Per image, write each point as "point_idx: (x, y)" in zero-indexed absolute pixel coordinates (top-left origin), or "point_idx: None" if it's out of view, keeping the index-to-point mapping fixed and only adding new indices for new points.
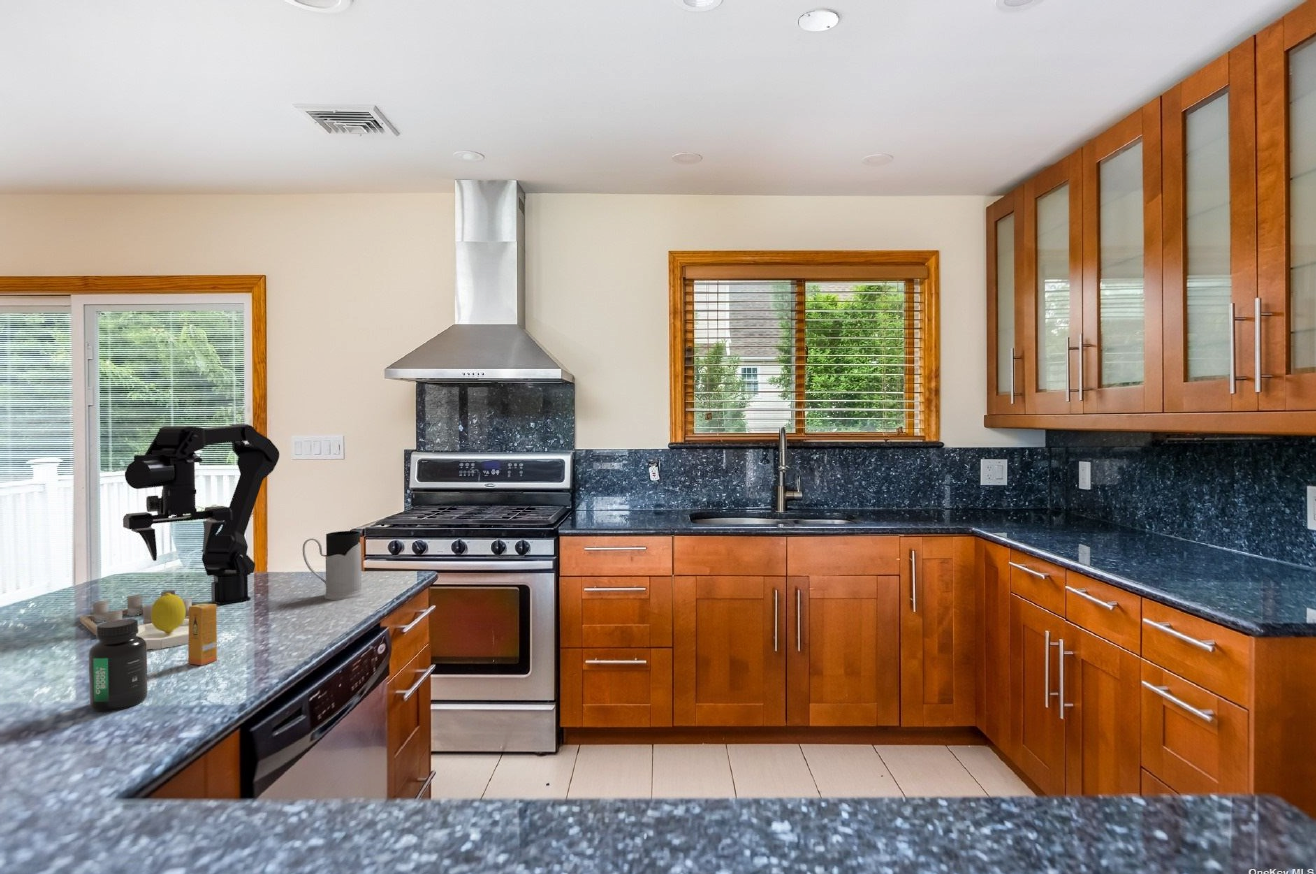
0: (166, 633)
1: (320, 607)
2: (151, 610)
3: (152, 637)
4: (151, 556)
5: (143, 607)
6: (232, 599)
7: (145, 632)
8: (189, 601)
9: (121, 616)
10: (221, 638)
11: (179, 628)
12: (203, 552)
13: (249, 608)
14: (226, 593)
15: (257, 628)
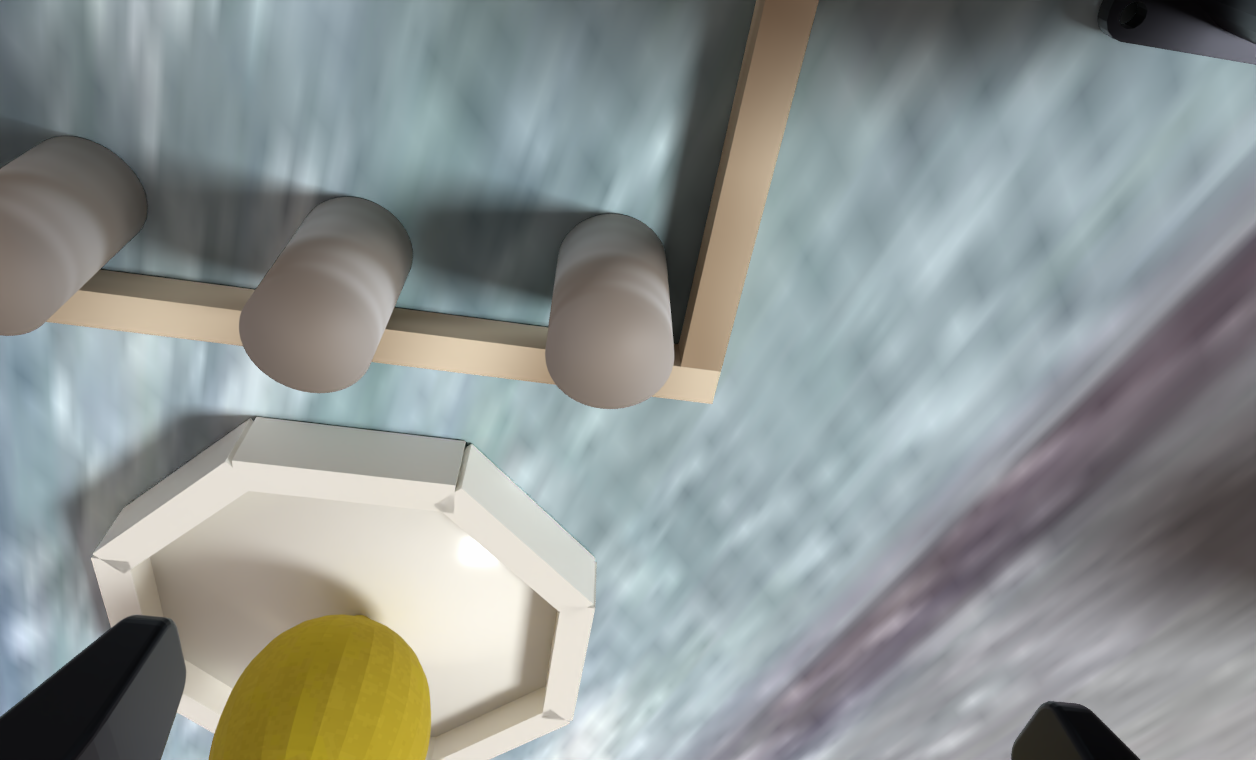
0: (354, 603)
1: (1223, 670)
2: (209, 756)
3: (272, 619)
4: (59, 684)
5: (243, 317)
6: (1241, 36)
7: (257, 501)
8: (635, 399)
9: (71, 293)
10: (550, 756)
11: (443, 568)
12: (1052, 734)
13: (1077, 359)
14: (1252, 20)
15: (743, 744)
